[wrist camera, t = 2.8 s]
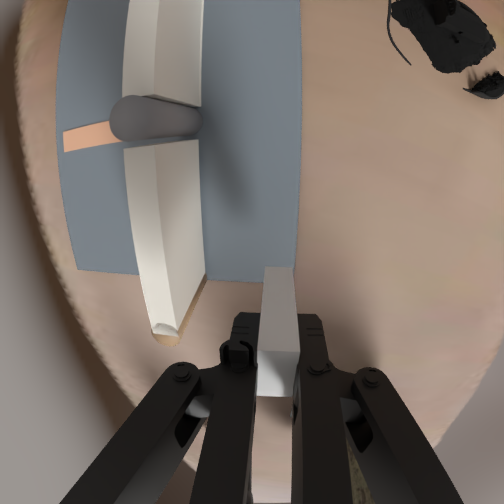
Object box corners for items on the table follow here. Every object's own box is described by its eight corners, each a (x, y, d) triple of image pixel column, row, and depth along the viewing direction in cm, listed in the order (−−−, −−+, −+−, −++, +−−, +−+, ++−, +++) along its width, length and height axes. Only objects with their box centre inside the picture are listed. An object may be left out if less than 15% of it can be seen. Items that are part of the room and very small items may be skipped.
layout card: (72, -7, 12) (69, -8, 11) (295, -54, 10) (295, -57, 10) (79, 267, 23) (77, 270, 23) (292, 281, 22) (293, 284, 21)
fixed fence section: (184, -35, 11) (143, -91, 4) (209, -40, 11) (177, -100, 3) (177, 136, 18) (110, 144, 10) (204, 134, 18) (150, 138, 10)
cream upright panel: (174, 141, 17) (121, 149, 11) (199, 139, 17) (156, 145, 11) (186, 285, 22) (154, 344, 15) (207, 286, 22) (182, 348, 15)
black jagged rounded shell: (386, 69, 15) (416, 54, 10) (375, -28, 11) (394, -55, 6) (497, 108, 14) (533, 111, 9) (485, 18, 10) (515, 9, 5)
